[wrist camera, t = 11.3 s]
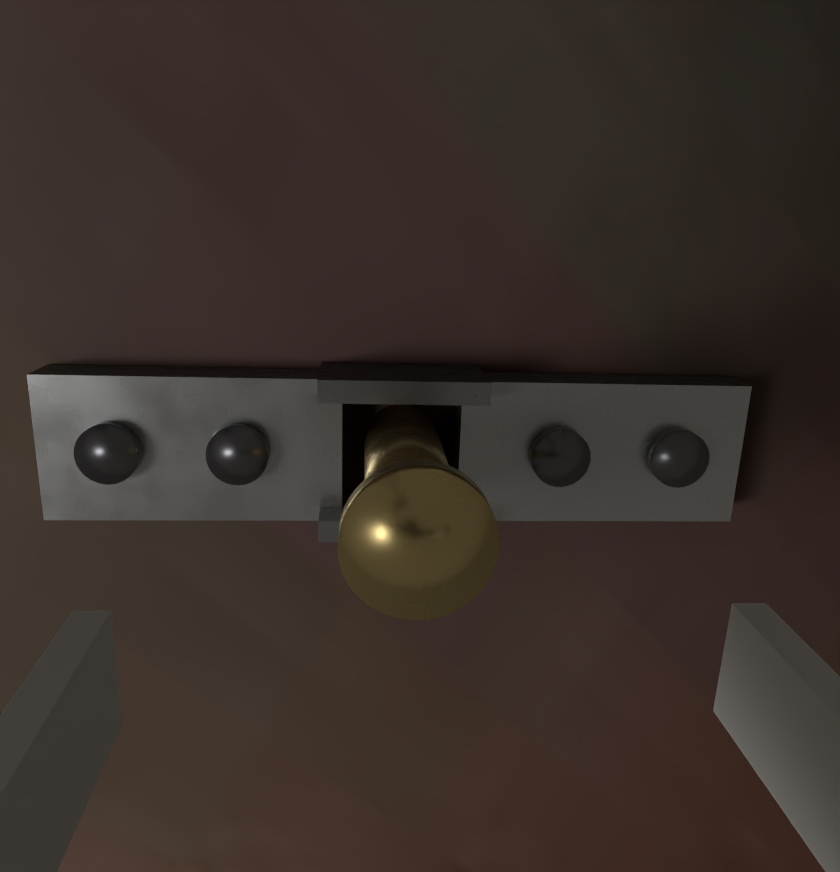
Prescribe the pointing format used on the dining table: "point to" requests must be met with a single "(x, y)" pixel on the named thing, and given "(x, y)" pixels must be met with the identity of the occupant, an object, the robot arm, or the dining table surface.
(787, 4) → the dining table surface
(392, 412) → the pin
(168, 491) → the grey long bar piece
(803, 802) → the robot arm
